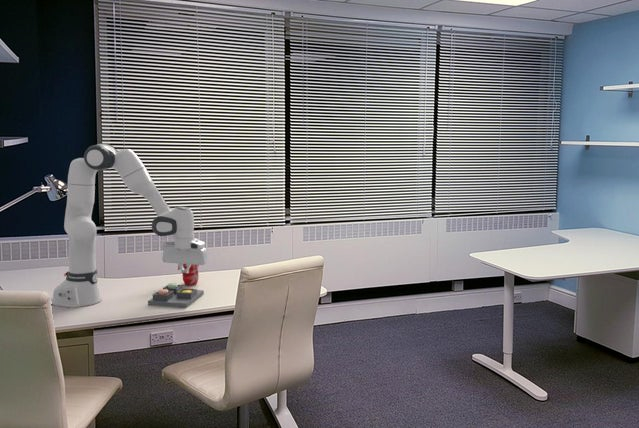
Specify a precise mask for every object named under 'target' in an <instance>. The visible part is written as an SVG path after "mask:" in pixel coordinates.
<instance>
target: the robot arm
mask: <svg viewBox="0 0 639 428" xmlns="http://www.w3.org/2000/svg"><path fill="white" fill-rule="evenodd" d="M108 169H114V170H115V171H116V172H117V174H118V175H119V176H120V178H121V180H122V182H123V184H125V186H126V187H127V189H128V190H130V192H132V193H134V194H137V195H140V196H142V197H144V198H145V199H146V200H147V201H148V203H149V205H150V206H151V208H152V209H153V211H154V212H155V214H156V217H154V219H152V222H151V229H152V232H153V233H154V234H155V235H156V236H159V237H167V236H172V235H173V237H174V238H173V241H171V242H169V241H166V242H164V243H163V244H162V258H161V259H162V262H163V263H166V264H168V263H169V264H178V263H179V267H180V269H179V270H180V273H181V274H183V273H186V274H188V273H189V268H190V267H191V264H195V265H199V266H204V265H205V264H207V263H208V251H207V249H206V247H205V246H206V242H205V241H203V240H200V239H198V238H195V233H194V229H195V218H194V217H195V216H194V211H193V210H192V209H191V208H189V207H187V206H182V205H181V206H179V205H178V206H175V207H174V208H171V206H169V205H168V203H167V201H166V200H165V199H164V196H162V194H161V193H160V191H159V189H158V187H156V184H155V183H154V181H153V178H151V176H150V173H149V171H148V169H147V168H146V166H145V165H144V164H143V162H142V160H141V159H140V157H139V156H138V154H136V153H135V152H134V150H132V149H130V148H124V149H120V150H117V149H116V148H115V146H113V145H111V144H109V143H97V144H94V145H91V146H89V147H88V148H86V150H85V152H84V155H83V157H78V158H75V159H73V160H72V161H71V162H70V165H69V169H68V174H67V188H66V189H67V190H66V191H67V192H66V193H67V197H66V207H65V213H64V214H65V215H64V223H63V224H64V225H63V228H64V231H65V232H66V234H67V235H68V238H69V240H68V253H67V254H68V255H67V257H68V258H67V259H68V271H66V272H65V273H64V274H63V277H65V279H64V281H62V282H60V283H59V285H56V287H55V288H54V290H53V294H52V297H50V299H51V301H52V304H53V306H60V307H66V308H79V307H85V306H92V305H94V304H97V303H98V304H99V302H101V301H102V297H101V293H100V290H99V286H98V269H97V266H96V265H97V264H96V263H97V262H96V245H97V232H98V231H97V230H98V229H97V225H96V224H95V222H94V221H93V220H92V215H93V209H94V204H95V196H96V195H95V193H96V191H95V190H96V186H95V184H96V176H97V175H96V174H97V173H98V172H99V171H105V170H108ZM183 264H186V266H188V267H187V269H184V267H183ZM52 304H51V305H52Z"/></svg>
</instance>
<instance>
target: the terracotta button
mask: <svg viewBox="0 0 639 428" xmlns="http://www.w3.org/2000/svg"><path fill="white" fill-rule="evenodd" d="M157 291H158V294H161V295H167V294H168V290H167V289H163V288H162V289H158V290H157Z"/></svg>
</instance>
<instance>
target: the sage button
mask: <svg viewBox="0 0 639 428" xmlns="http://www.w3.org/2000/svg"><path fill="white" fill-rule="evenodd" d="M167 285H168V288H177V287H178V285H179V284H178V283H177V282H169V283H168V284H167Z"/></svg>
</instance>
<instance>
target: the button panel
mask: <svg viewBox="0 0 639 428" xmlns="http://www.w3.org/2000/svg"><path fill="white" fill-rule="evenodd" d="M183 286H184V285H183V284H178V287H177V288H168V284H167V285H165V286H163V287H162V289H167V290H168V294H167V295H161V294H158V290H157V291H155V293H153V294H152V298H150V299H148V300H147V305H148V306H151V307H152V306H154V307H166V308H167V307H170V308H179V309H180V308H182V309H187V308H189V307H190V306H191V305H193V303H195V302H196V301H197V300H198V299H200V298H201V297H203V296H204V294H205V293H204V291H205V290H202V289H197V288H186V287H183ZM184 290H191V291H192V292H190V293H185V292H182V291H184Z"/></svg>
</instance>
